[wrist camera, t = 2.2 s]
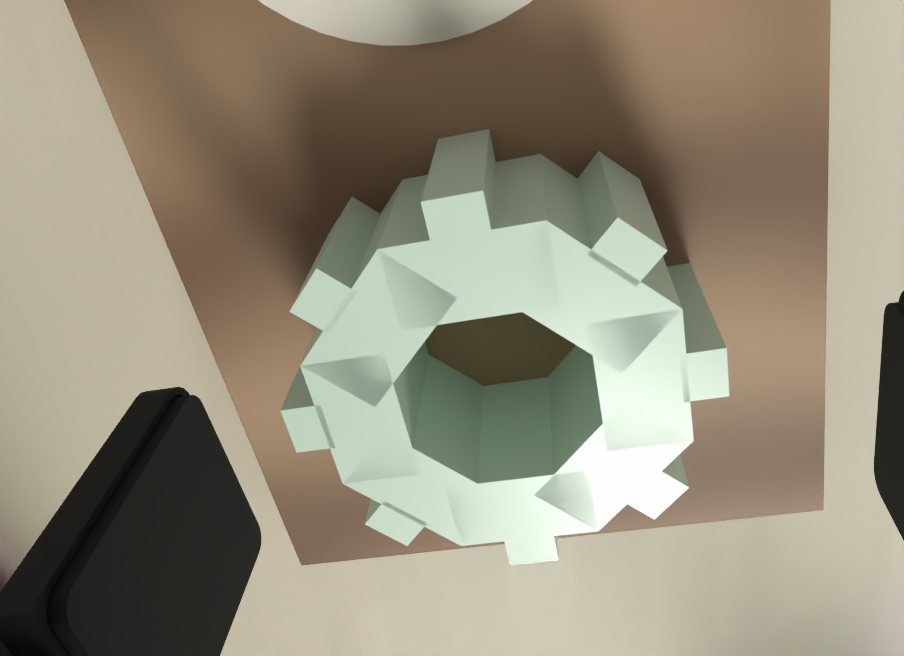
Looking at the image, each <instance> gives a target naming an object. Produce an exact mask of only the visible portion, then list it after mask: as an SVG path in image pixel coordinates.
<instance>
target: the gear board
mask: <svg viewBox="0 0 904 656" xmlns="http://www.w3.org/2000/svg"><path fill="white" fill-rule="evenodd" d="M64 1H65V3H66V5H67V8H68V10H69V13H70V15H71V17H72V20H73V22H74V25H75V27H76V29H77V32H78V34H79V36H80V39H81V41H82V44H83V46H84V48H85V51H86V53H87V55H88V58H89V60H90V63H91V65H92V67H93V70H94V72H95V75H96V77H97V79H98V82H99V84H100V86H101V89H102V91H103V94H104V96H105V98H106V101H107V103H108V105H109V108H110V110H111V113H112V115H113V117H114V120H115V122H116V125H117V127H118V129H119V132H120V134H121V136H122V139H123V141H124V144H125V146H126V148H127V151H128V153H129V156H130V158H131V160H132V163H133V165H134V167H135V170H136V172H137V175H138V177H139V179H140V182H141V184H142V186H143V189H144V191H145V194H146V196H147V198H148V201H149V203H150V206H151V208H152V210H153V213H154V215H155V217H156V220H157V222H158V225H159V227H160V229H161V232H162V234H163V236H164V239H165V241H166V244H167V246H168V248H169V251H170V253H171V256H172V258H173V260H174V263H175V265H176V267H177V270H178V272H179V275H180V277H181V279H182V282H183V284H184V286H185V289H186V291H187V294H188V296H189V298H190V301H191V303H192V306H193V308H194V310H195V313H196V315H197V317H198V320H199V322H200V325H201V327H202V329H203V332H204V334H205V337H206V339H207V341H208V344H209V346H210V348H211V351H212V353H213V356H214V358H215V360H216V363H217V365H218V367H219V370H220V372H221V375H222V377H223V379H224V382H225V384H226V387H227V389H228V391H229V394H230V396H231V398H232V401H233V403H234V406H235V408H236V410H237V413H238V415H239V417H240V420H241V422H242V425H243V427H244V429H245V432H246V434H247V437H248V439H249V441H250V444H251V446H252V448H253V451H254V453H255V456H256V458H257V460H258V463H259V465H260V467H261V470H262V472H263V475H264V477H265V479H266V482H267V484H268V487H269V489H270V491H271V494H272V496H273V498H274V501H275V503H276V506H277V508H278V510H279V513H280V515H281V517H282V520H283V522H284V525H285V527H286V529H287V532H288V534H289V537H290V539H291V541H292V544H293V546H294V548H295V551H296V553H297V556H298V558H299V560H300V563H301V565H309V564H318V563H328V562H337V561H347V560H356V559H366V558H375V557H384V556H394V555H403V554H413V553H422V552H432V551H441V550H450V549H460V548H469V547H479V546H488V545H498V544H505V543H504V542H494V543H485V544H475V545H466V546H460V545H458V544H456V543H455V542H453V541H451V540H449V539H447V538H445V537H443V536H441V535H439V534H437V533H436V532H434V531H432V530H430V529H428V528H426V527H424V528H423V529H422V530H421V531H420V532H419V533H418V535H417V536H416V537H415V538H414V539H413V540H412V541H411V542H410V544H409V545H408V546H406V545H404V544H402V543H400V542H398V541H396V540H394V539H392V538H390V537H388V536H386V535H384V534H383V533H381V532H379V531H377V530H375V529H373V528H371V527H369V526H367V525H365V521H366V517H367V513H368V508H369V504H370V500H371V498H369V497H367V496H365V495H363V494H361V493H359V492H357V491H355V490H354V489H352V488H350V487H348V486H346V485H344V484H343V483H342V481H341V478H340V475H339V472H338V469H337V467H336V464H335V461H334V458H333V456H332V453H331V450H330V448H329V449H322V450H314V451H306V452H299V453H297V452H296V450H295V447H294V445H293V442H292V439H291V437H290V434H289V432H288V429H287V427H286V424H285V421H284V419H283V416H282V414H281V411H280V410H281V408H282V405H283V403H284V401H285V399H286V396H287V394H288V392H289V389H290V387H291V385H292V382H293V380H294V378H295V375H296V373H297V371H298V368H299V366H300V364H301V361H302V359H303V357H304V354H305V352H306V350H307V347H308V345H309V343H310V340H311V338H312V336H313V333H314V331H315V329H316V327H315V326H314V325H312V324H310V323H308V322H307V321H305V320H303V319H301V318H300V317H298V316H296V315H294V314H293V313H291V312H289V311H290V309H291V307H292V305H293V303H294V301H295V299H296V297H297V295H298V293H299V291H300V289H301V287H302V285H303V283H304V281H305V279H306V278H307V276H308V274H309V272H310V270H311V268H312V266H313V264H314V262H315V260H316V258H317V256H318V254H319V252H320V250H321V248H322V246H323V244H324V242H325V240H326V238H327V236H328V234H329V232H330V231H331V229H332V228H333V226H334V224H335V223H336V221H337V219H338V218H339V216H340V215H341V213H342V211H343V210H344V208H345V207H346V205H347V203H348V202H349V200H350V198H351V197H354V198H355V199H357V200H359V201H360V202H362V203H364V204H365V205H367V206H368V207H370V208H372V209H373V210H375V211H376V212H378V213H381V212H382V210H383V209H384V207H385V206H386V204H387V203H388V201H389V200H390V198H391V196H392V195H393V193H394V192H395V190H396V189H397V187H398V186H399V184H400V183H401V181H402V180H403V179H408V178H413V177H419V176H424V175H428V173H429V170H430V166H431V163H432V159H433V156H434V152H435V149H436V145H437V142H438V139H440V138H445V137H450V136H455V135H460V134H466V133H471V132H476V131H481V130H486V129H489V130H490V135H491V140H492V146H493V151H494V156H495V161H496V162H500V161H505V160H511V159H516V158H521V157H527V156H532V155H538V154H541V155H543V156H544V157H546V158H547V159H549V160H550V161H552V162H553V163H555V164H556V165H558V166H559V167H561V168H562V169H564V170H565V171H567V172H568V173H570V174H571V175H573V176H574V177H576V178H578V177H579V176H580V175H581V173H582V172H583V171H584V169H585V168H586V167H587V165H588V164H589V163H590V162H591V160H592V159H593V158H594V156H595V155H596V154H597V152H598V151H599V152H601V153H602V154H604V155H605V156H607V157H608V158H610V159H611V160H613V161H614V162H615V163H617V164H618V165H620V166H621V167H623V168H624V169H626V170H627V171H629V172H630V173H631V174H633V175H634V176H636V177H637V178H639V179H640V181H641V184H642V186H643V189H644V191H645V194H646V196H647V199H648V202H649V204H650V207H651V209H652V212H653V214H654V217H655V219H656V222H657V225H658V227H659V230H660V232H661V235H662V237H663V240H664V242H665V245H666V248H667V250H668V251H667V252H666V253H665V254H664V255H663V258H664V261H665V263H666V266H667V267H668V266H674V265H680V264H687V263H690V265H691V267H692V269H693V271H694V274H695V276H696V278H697V281H698V283H699V285H700V288H701V290H702V292H703V294H704V297H705V299H706V301H707V304H708V306H709V308H710V311H711V313H712V315H713V318H714V320H715V322H716V324H717V327H718V329H719V331H720V334H721V336H722V338H723V341H724V343H725V345H726V347H727V361H728V379H729V396H728V397H720V398H713V399H705V400H697V401H690V403H691V415H692V427H693V439H694V441H693V442H692V443H691V444H690V445H689V446H688V447H687V448H686V449H684V450H683V451H682V452H681V453H680V456H681V460H682V463H683V467H684V470H685V474H686V478H687V481H688V485H689V488H688V489H687V490H686V491H685V492H684V493H683V494H682V495H681V496H680V497H678V498H677V499H676V500H675V501H674V502H673V503H672V504H671V505H670V506H669V507H668V508H666V509H665V510H664V511H663V512H662V513H661V514H660V515H659V516H658V517H657V518H656V519H652V518H651V517H649V516H647V515H645V514H644V513H642V512H640V511H638V510H637V509H635V508H633V507H631V506H630V505H628V504H627V505H626V506H625V507H624V508H623V509H621V510H620V511H619V512H618V513H617V514H616V515H615V516H614V517H613V518H612V519H611V520H610V521H609V522H608V523H607V524H606V525H605V526H604V527H603V528H602V529H600V530H599V531H597V532H588V533H579V534H569V535H560V536H557V538H564V537H573V536H582V535H592V534H601V533H611V532H620V531H630V530H639V529H648V528H658V527H667V526H677V525H686V524H696V523H705V522H714V521H724V520H733V519H743V518H752V517H762V516H771V515H780V514H790V513H799V512H809V511H818V510H823V498H824V427H825V355H826V284H827V212H828V141H829V69H830V0H64ZM425 342H426V345H427V349H428V353H429V355H431V356H433V357H435V358H436V359H438V360H440V361H441V362H443V363H445V364H447V365H448V366H450V367H452V368H454V369H455V370H457V371H459V372H460V373H462V374H464V375H466V376H467V377H469V378H471V379H472V380H474V381H476V382H478V383H479V384H481V385H483V386H487V385H494V384H502V383H509V382H516V381H523V380H530V379H537V378H545V377H548V376H549V375H550V374H551V373H552V372H553V371H554V370H555V368H556V367H557V366H558V365H559V364H560V363H561V362H562V360H563V359H564V358H565V357H566V356H567V355H568V354H569V352H570V351H571V350H572V349H573V348H574V347H575V346H576V345H575V344H574V343H572V342H570V341H569V340H567V339H565V338H564V337H562V336H561V335H559V334H557V333H556V332H554V331H552V330H551V329H549V328H548V327H546V326H544V325H543V324H541V323H539V322H538V321H536V320H534V319H533V318H531V317H530V316H528V315H526V314H525V313H523V312H519V313H513V314H506V315H500V316H493V317H487V318H480V319H474V320H467V321H460V322H454V323H447V324H441V325H437V326H436V327H435V328H434V330H433V331H432V332H431V334H430V335H429V336H428V338H427V339H426V340H425Z"/></svg>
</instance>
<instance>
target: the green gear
mask: <svg viewBox="0 0 904 656" xmlns="http://www.w3.org/2000/svg"><path fill="white" fill-rule="evenodd" d="M667 251H668V250H667V248H666V245H665V242H664V240H663V237H662V235H661V232H660V230H659V227H658V225H657V222H656V219H655V217H654V214H653V212H652V209H651V207H650V204H649V202H648V199H647V196H646V194H645V191H644V189H643V186H642V184H641V181H640V179H639V178H637V177H636V176H634V175H633V174H631V173H630V172H629V171H627V170H626V169H624V168H623V167H621V166H620V165H618V164H617V163H615V162H614V161H613V160H611V159H610V158H608V157H607V156H605V155H604V154H602V153H601V152H599V151H598V152H597V154H596V155H595V156H594V158H593V159H592V160H591V162H590V163H589V164H588V165H587V167H586V168H585V169H584V171H583V172H582V173H581V175H580V176H579V177H578V178H576V177H574V176H573V175H571V174H570V173H568V172H567V171H565V170H564V169H562V168H561V167H559V166H558V165H556V164H555V163H553V162H552V161H550V160H549V159H547V158H546V157H544V156H543V155H541V154H538V155H532V156H527V157H521V158H516V159H511V160H505V161H500V162H496V161H495V156H494V151H493V146H492V140H491V135H490V130H489V129H486V130H481V131H476V132H471V133H466V134H460V135H455V136H450V137H445V138H440V139H438V142H437V145H436V149H435V152H434V156H433V159H432V163H431V166H430V170H429V173H428V175H424V176H419V177H413V178H408V179H403V180H402V181H401V183H400V184H399V186H398V187H397V189H396V190H395V192H394V193H393V195H392V196H391V198H390V200H389V201H388V203H387V204H386V206H385V207H384V209H383V210H382V212H381V213H378V212H376V211H375V210H373V209H372V208H370V207H368V206H367V205H365V204H364V203H362V202H360V201H359V200H357V199H355V198H354V197H351V198H350V200H349V202H348V203H347V205H346V207H345V208H344V210H343V211H342V213H341V215H340V216H339V218H338V219H337V221H336V223H335V224H334V226H333V228H332V229H331V231H330V232H329V234H328V236H327V238H326V240H325V242H324V244H323V246H322V248H321V250H320V252H319V254H318V256H317V258H316V260H315V262H314V264H313V266H312V268H311V270H310V272H309V274H308V276H307V278H306V279H305V281H304V283H303V285H302V287H301V289H300V291H299V293H298V295H297V297H296V299H295V301H294V303H293V305H292V307H291V309H290V311H289V312H291V313H293V314H294V315H296V316H298V317H300V318H301V319H303V320H305V321H307V322H308V323H310V324H312V325H314V326H315V327H316V329H315V331H314V333H313V336H312V338H311V340H310V343H309V345H308V347H307V350H306V352H305V354H304V357H303V359H302V361H301V364H300V366H299V368H298V371H297V373H296V375H295V378H294V380H293V382H292V385H291V387H290V389H289V392H288V394H287V396H286V399H285V401H284V403H283V405H282V408H281V410H280V411H281V414H282V416H283V419H284V421H285V424H286V427H287V429H288V432H289V434H290V437H291V439H292V442H293V445H294V447H295V450H296V452H297V453H299V452H306V451H314V450H322V449H329V448H330V450H331V453H332V456H333V458H334V461H335V464H336V467H337V469H338V472H339V475H340V478H341V481H342V483H343V484H344V485H346V486H348V487H350V488H352V489H354V490H355V491H357V492H359V493H361V494H363V495H365V496H367V497H369V498H371V500H370V504H369V508H368V513H367V517H366V521H365V525H367V526H369V527H371V528H373V529H375V530H377V531H379V532H381V533H383V534H384V535H386V536H388V537H390V538H392V539H394V540H396V541H398V542H400V543H402V544H404V545H406V546H408V545H409V544H410V542H411V541H412V540H413V539H414V538H415V537H416V536H417V535H418V533H419V532H420V531H421V530H422V529H423V528H424V527H426V528H428V529H430V530H432V531H434V532H436V533H437V534H439V535H441V536H443V537H445V538H447V539H449V540H451V541H453V542H455V543H456V544H458V545H460V546H466V545H475V544H485V543H494V542H504V543H505V547H506V551H507V555H508V559H509V563H510V565H516V564H526V563H536V562H546V561H556V560H559V555H558V539H557V536H560V535H569V534H579V533H588V532H597V531H599V530H600V529H602V528H603V527H604V526H605V525H606V524H607V523H608V522H609V521H610V520H611V519H612V518H613V517H614V516H615V515H616V514H617V513H618V512H619V511H620V510H621V509H623V508H624V507H625V506H626V505H627V504H628V505H630V506H631V507H633V508H635V509H637V510H638V511H640V512H642V513H644V514H645V515H647V516H649V517H651V518H652V519H656V518H657V517H658V516H659V515H660V514H661V513H662V512H663V511H664V510H665V509H666V508H668V507H669V506H670V505H671V504H672V503H673V502H674V501H675V500H676V499H677V498H678V497H680V496H681V495H682V494H683V493H684V492H685V491H686V490H687V489H688V488H689V485H688V481H687V478H686V474H685V470H684V467H683V463H682V460H681V456H680V453H681V452H682V451H683V450H684V449H686V448H687V447H688V446H689V445H690V444H691V443H692V442H693V441H694V439H693V427H692V415H691V403H690V401H697V400H705V399H713V398H720V397H728V396H729V379H728V361H727V347H726V345H725V343H724V341H723V338H722V336H721V334H720V331H719V329H718V327H717V324H716V322H715V320H714V318H713V315H712V313H711V311H710V308H709V306H708V304H707V301H706V299H705V297H704V294H703V292H702V290H701V288H700V285H699V283H698V281H697V278H696V276H695V274H694V271H693V269H692V267H691V265H690V263H687V264H680V265H674V266H668V267H667V266H666V263H665V261H664V258H663V255H664V254H665V253H666V252H667ZM519 312H523V313H525V314H526V315H528V316H530V317H531V318H533V319H534V320H536V321H538V322H539V323H541V324H543V325H544V326H546V327H548V328H549V329H551V330H552V331H554V332H556V333H557V334H559V335H561V336H562V337H564V338H565V339H567V340H569V341H570V342H572V343H574V344H575V345H576V346H575V347H574V348H573V349H572V350H571V351H570V352H569V354H568V355H567V356H566V357H565V358H564V359H563V360H562V362H561V363H560V364H559V365H558V366H557V367H556V368H555V370H554V371H553V372H552V373H551V374H550V375H549V376H548V377H545V378H537V379H530V380H523V381H516V382H509V383H502V384H494V385H487V386H483V385H481V384H479V383H478V382H476V381H474V380H472V379H471V378H469V377H467V376H466V375H464V374H462V373H460V372H459V371H457V370H455V369H454V368H452V367H450V366H448V365H447V364H445V363H443V362H441V361H440V360H438V359H436V358H435V357H433V356H431V355H429V353H428V349H427V345H426V342H425V340H426V339H427V338H428V336H429V335H430V334H431V332H432V331H433V330H434V328H435V327H436V326H437V325H441V324H447V323H454V322H460V321H467V320H474V319H480V318H487V317H493V316H500V315H506V314H513V313H519Z"/></svg>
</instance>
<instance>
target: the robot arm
mask: <svg viewBox="0 0 904 656" xmlns="http://www.w3.org/2000/svg"><path fill="white" fill-rule="evenodd" d="M874 474H875V480H876V484H877V488H878V491H879V493H880V495H881V497H882V499H883V501H884V503H885V505H886V507H887V509H888V511H889V513H890V515H891V517H892V519H893V521H894V523H895V524H896V526H897V528H898V530H899V532H900V534H901V536H902V538H903V540H904V291H903V292H902V293H901V296H900V298H899V302H896V303H889V304H888V305H887V306H886V308H885V312H884V323H883V337H882V352H881V367H880V382H879V397H878V412H877V426H876V441H875V456H874ZM260 547H261V532H260V528H259V525H258V522H257V520H256V518H255V516H254V514H253V512H252V509H251V507H250V505H249V503H248V501H247V499H246V496H245V494H244V492H243V490H242V488H241V486H240V484H239V481H238V479H237V477H236V475H235V473H234V471H233V468H232V466H231V464H230V462H229V460H228V458H227V456H226V453H225V451H224V449H223V447H222V445H221V443H220V440H219V438H218V436H217V434H216V432H215V430H214V428H213V425H212V423H211V421H210V419H209V417H208V415H207V412H206V410H205V408H204V406H203V404H202V402H201V401H200V399H199V398H198V397H197V396H194V395H189V393H188V392H187V391H186V390H185V389H184V388H180V387H175V388H168V389H160V390H153V391H146V392H142V393H140V394H139V395H138V396H137V397H136V399H135V400H134V402H133V403H132V405H131V406H130V407H129V409H128V410H127V412H126V413H125V415H124V416H123V417H122V419H121V420H120V422H119V423H118V425H117V426H116V427H115V429H114V430H113V432H112V433H111V435H110V436H109V438H108V439H107V440H106V442H105V443H104V445H103V446H102V448H101V449H100V450H99V452H98V453H97V455H96V456H95V458H94V459H93V460H92V462H91V463H90V465H89V466H88V468H87V469H86V470H85V472H84V473H83V475H82V476H81V478H80V479H79V480H78V482H77V483H76V485H75V486H74V488H73V489H72V490H71V492H70V493H69V495H68V496H67V498H66V499H65V501H64V502H63V503H62V505H61V506H60V508H59V509H58V511H57V512H56V513H55V515H54V516H53V518H52V519H51V521H50V522H49V523H48V525H47V526H46V528H45V529H44V531H43V532H42V533H41V535H40V536H39V538H38V539H37V541H36V542H35V543H34V545H33V546H32V548H31V549H30V551H29V552H28V553H27V555H26V556H25V558H24V559H23V561H22V562H21V564H20V565H19V566H18V568H17V569H16V571H15V572H14V574H13V575H12V576H11V578H10V579H9V581H8V582H7V584H6V585H5V586H4V588H3V589H2V591H1V592H0V656H220V654H221V651H222V648H223V646H224V643H225V641H226V638H227V635H228V633H229V630H230V627H231V625H232V622H233V620H234V617H235V614H236V612H237V609H238V606H239V604H240V601H241V599H242V596H243V593H244V591H245V588H246V585H247V583H248V580H249V577H250V575H251V572H252V570H253V567H254V564H255V562H256V559H257V556H258V554H259V551H260Z"/></svg>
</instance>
